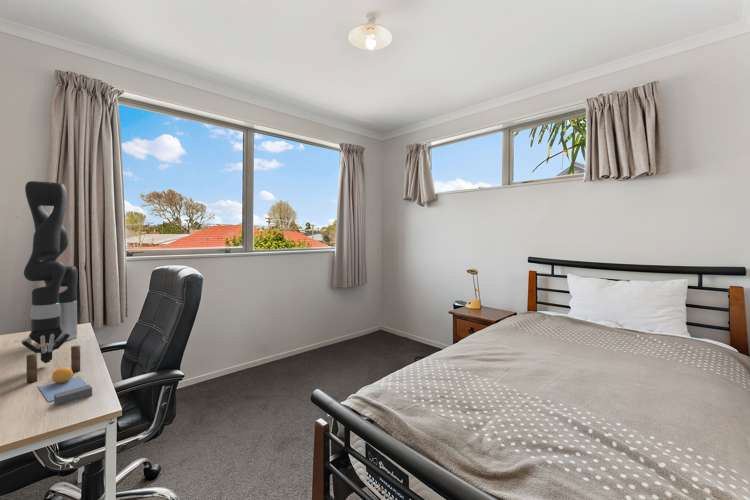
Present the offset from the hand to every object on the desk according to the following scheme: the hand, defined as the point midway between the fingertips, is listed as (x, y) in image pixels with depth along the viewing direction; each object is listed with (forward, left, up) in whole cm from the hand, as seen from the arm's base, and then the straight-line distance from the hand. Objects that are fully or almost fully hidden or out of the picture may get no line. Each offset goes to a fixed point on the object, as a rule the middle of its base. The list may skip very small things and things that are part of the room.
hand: (46, 362), depth 119 cm
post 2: (+13, +6, -2) cm, 14 cm away
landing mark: (+27, 0, -2) cm, 27 cm away
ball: (+21, 0, +1) cm, 21 cm away
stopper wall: (+37, 0, -2) cm, 37 cm away
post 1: (+13, -5, -2) cm, 14 cm away
